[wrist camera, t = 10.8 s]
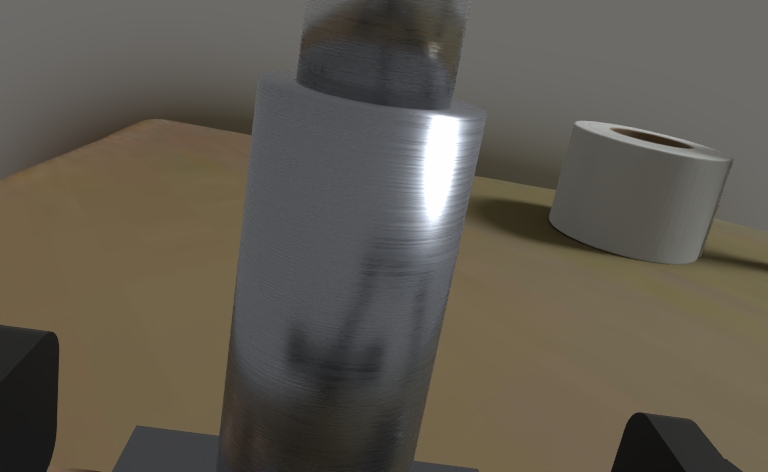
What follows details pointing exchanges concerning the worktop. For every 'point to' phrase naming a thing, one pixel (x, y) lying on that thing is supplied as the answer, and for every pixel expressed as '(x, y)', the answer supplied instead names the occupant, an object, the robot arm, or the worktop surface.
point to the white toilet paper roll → (638, 192)
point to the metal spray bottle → (349, 239)
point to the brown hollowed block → (66, 469)
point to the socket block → (197, 453)
